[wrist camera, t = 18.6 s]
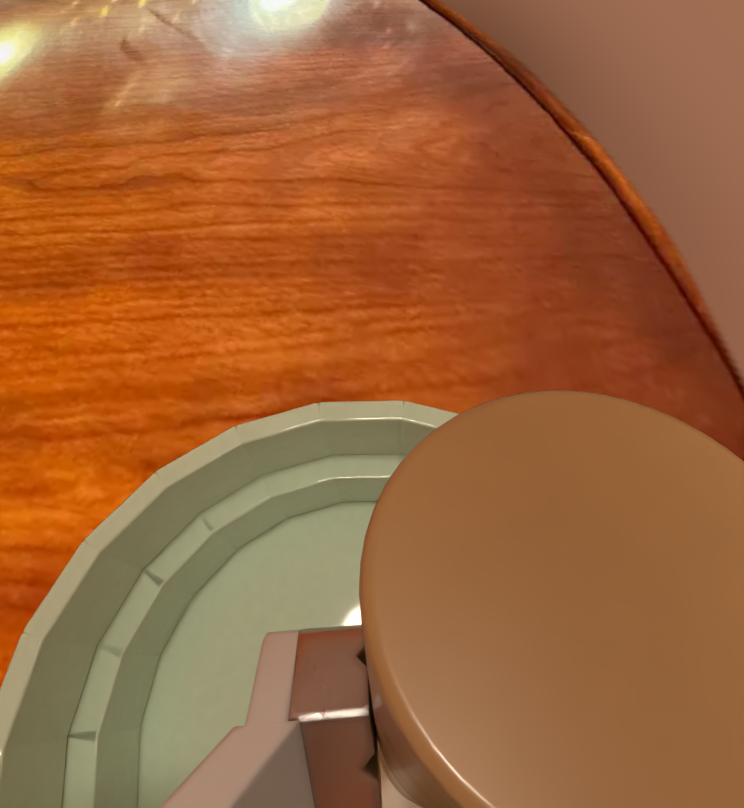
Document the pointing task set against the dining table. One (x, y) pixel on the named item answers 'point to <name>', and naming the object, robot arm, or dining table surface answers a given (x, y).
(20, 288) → the dining table surface
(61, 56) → the dining table surface
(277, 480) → the mixing bowl
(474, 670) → the wooden peg stand
